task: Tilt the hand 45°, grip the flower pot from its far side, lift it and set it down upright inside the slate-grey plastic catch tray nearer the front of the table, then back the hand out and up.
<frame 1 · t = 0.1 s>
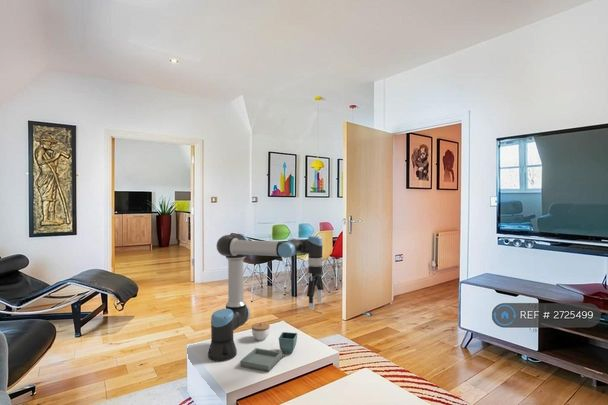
hand: (315, 305, 174), 28 cm above the table, tool pointing down, fingers open, 13 cm apart
catch tray: (261, 362, 170), on the table
lidded jar: (260, 338, 200), on the table
flower pot: (288, 352, 182), on the table
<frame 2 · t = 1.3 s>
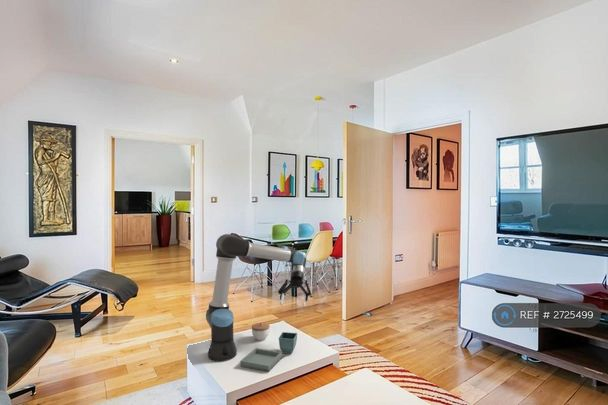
hand: (292, 305, 192), 23 cm above the table, tool tilted 45°, fingers open, 13 cm apart
nothing on the table moved.
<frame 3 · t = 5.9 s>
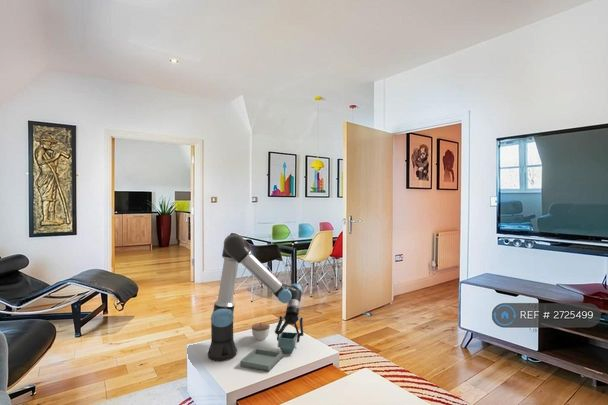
hand: (286, 347, 179), 4 cm above the table, tool tilted 45°, fingers closed on flower pot, 9 cm apart
flower pot: (288, 352, 182), on the table, touching gripper
everything else where it was.
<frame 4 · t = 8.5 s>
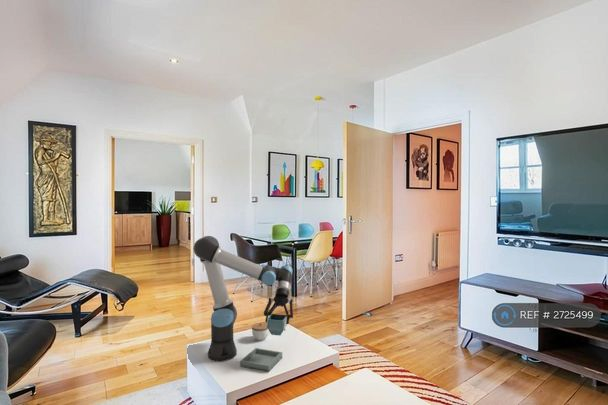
hand: (275, 328, 173), 16 cm above the table, tool tilted 45°, fingers closed on flower pot, 9 cm apart
flower pot: (277, 334, 176), point 12 cm above the table, touching gripper
everything else where it was.
when the fingers open (6 cm above the table, at t = 11.4 s): flower pot drops 1 cm, resting on catch tray.
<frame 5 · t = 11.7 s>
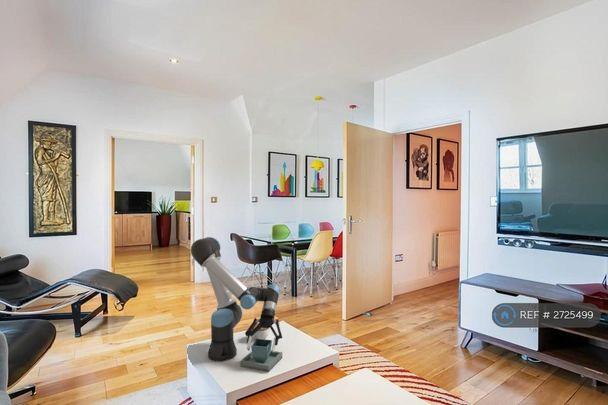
hand: (260, 350, 168), 7 cm above the table, tool tilted 45°, fingers open, 13 cm apart
flower pot: (261, 360, 170), point 1 cm above the table, touching catch tray
everything else where it was.
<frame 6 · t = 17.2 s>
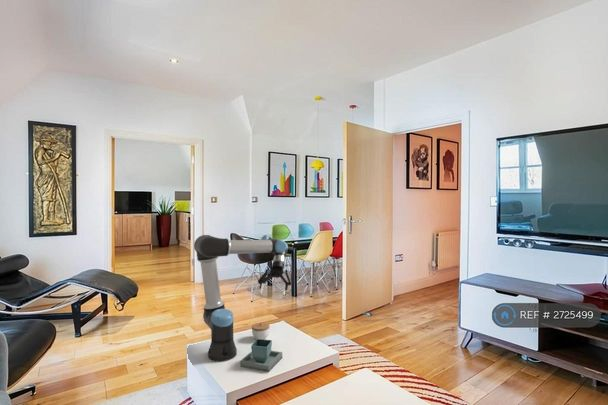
hand: (272, 294, 190), 30 cm above the table, tool tilted 45°, fingers open, 13 cm apart
nothing on the table moved.
at the end: flower pot inside the target area on the catch tray (0.1 cm from its centre), point 0.8 cm above the catch tray's base; flower pot tilted 0°; the gripper is holding nothing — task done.
